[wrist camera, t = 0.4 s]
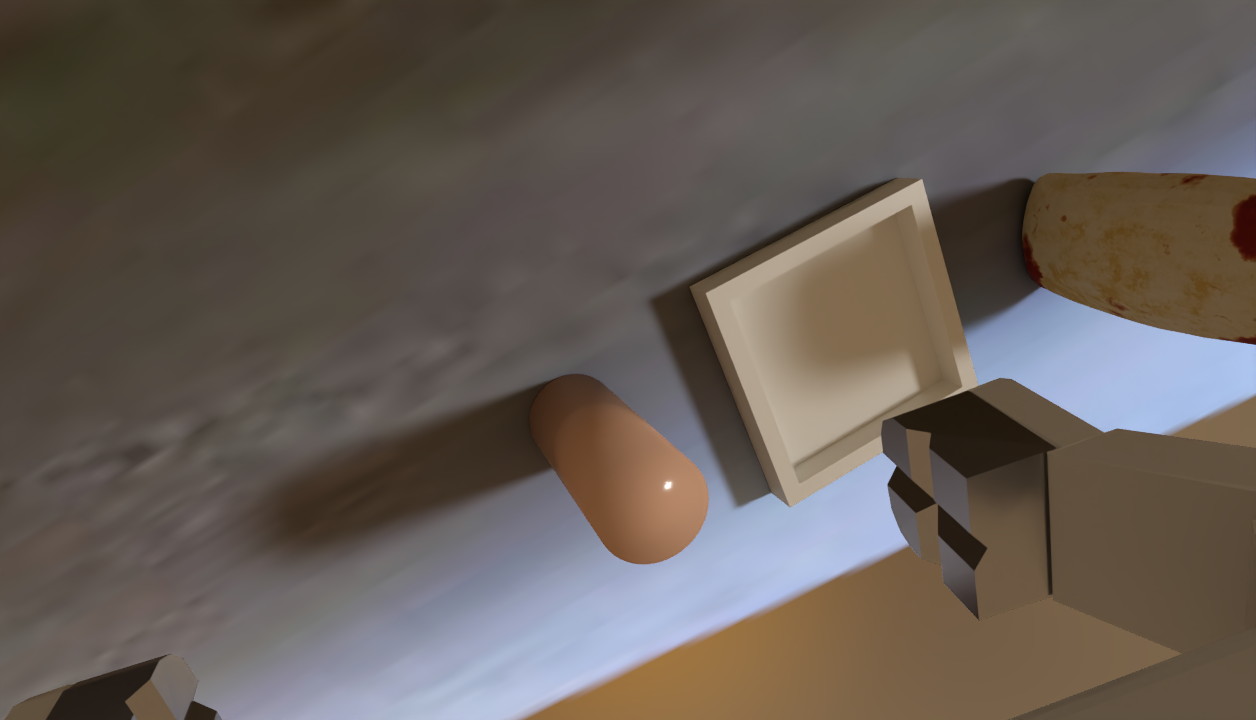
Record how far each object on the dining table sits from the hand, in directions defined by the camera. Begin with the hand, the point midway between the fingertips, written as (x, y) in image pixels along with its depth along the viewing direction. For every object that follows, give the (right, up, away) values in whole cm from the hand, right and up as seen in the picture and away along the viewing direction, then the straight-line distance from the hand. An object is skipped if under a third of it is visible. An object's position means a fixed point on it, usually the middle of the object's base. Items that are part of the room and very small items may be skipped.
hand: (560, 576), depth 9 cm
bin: (+14, +4, +45) cm, 48 cm away
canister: (-3, -1, +41) cm, 41 cm away
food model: (+30, +11, +49) cm, 59 cm away
